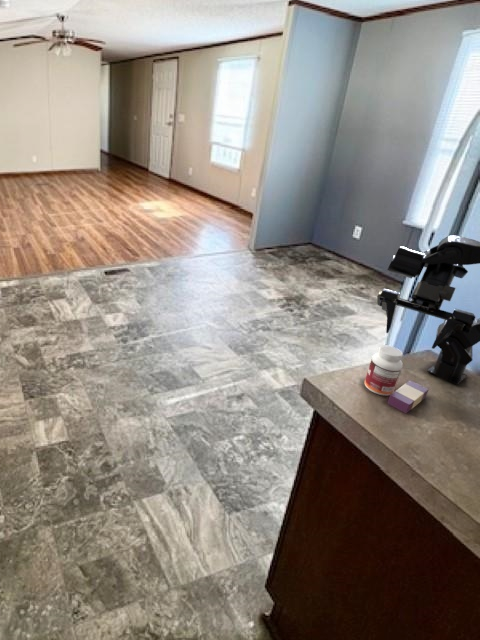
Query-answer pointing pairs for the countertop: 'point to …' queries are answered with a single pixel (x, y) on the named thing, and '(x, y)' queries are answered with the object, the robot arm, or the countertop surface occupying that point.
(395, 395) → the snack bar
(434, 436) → the countertop surface
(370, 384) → the pill bottle
